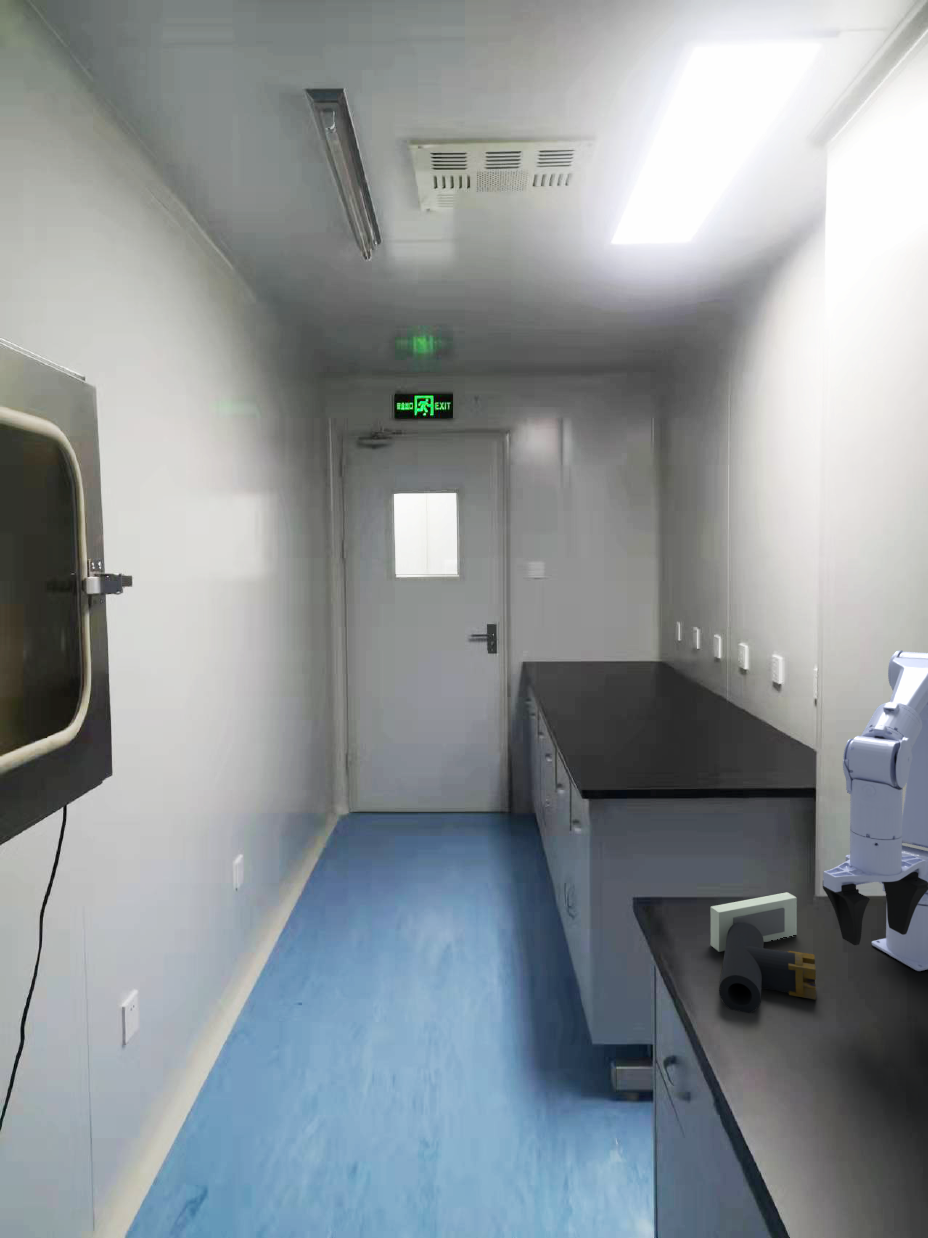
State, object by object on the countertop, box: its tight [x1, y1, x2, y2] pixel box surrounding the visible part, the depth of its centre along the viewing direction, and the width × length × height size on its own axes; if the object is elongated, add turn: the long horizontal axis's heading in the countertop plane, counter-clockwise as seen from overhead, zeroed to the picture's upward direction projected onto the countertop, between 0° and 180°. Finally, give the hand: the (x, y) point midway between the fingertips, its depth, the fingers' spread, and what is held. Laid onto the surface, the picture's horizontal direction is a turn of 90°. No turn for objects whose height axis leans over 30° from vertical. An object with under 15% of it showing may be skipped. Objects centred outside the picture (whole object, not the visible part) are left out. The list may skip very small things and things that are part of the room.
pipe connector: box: [718, 922, 817, 1014], centre depth 98 cm, size 12×5×15 cm
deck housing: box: [710, 891, 798, 953], centre depth 110 cm, size 14×2×6 cm, turn 107°
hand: (874, 936), depth 93 cm, fingers open, 7 cm apart
